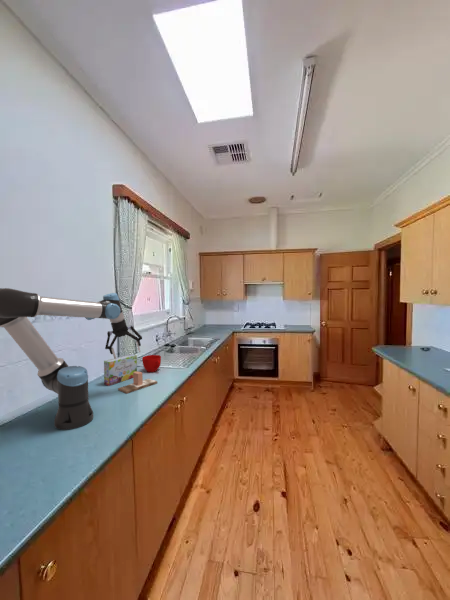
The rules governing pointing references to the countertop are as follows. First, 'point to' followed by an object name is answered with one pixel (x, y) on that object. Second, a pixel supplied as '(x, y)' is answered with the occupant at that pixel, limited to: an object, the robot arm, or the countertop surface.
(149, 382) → the board
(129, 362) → the snack box
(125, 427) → the countertop surface
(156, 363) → the ceramic cup
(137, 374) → the stub
